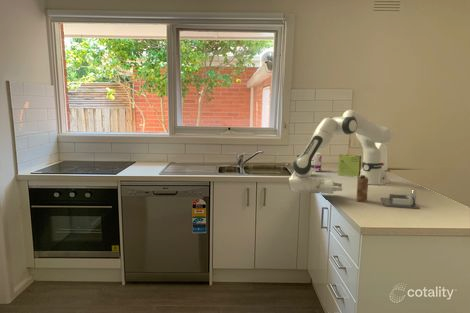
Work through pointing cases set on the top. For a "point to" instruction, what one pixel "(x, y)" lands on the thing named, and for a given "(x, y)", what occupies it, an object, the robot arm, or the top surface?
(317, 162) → the supplement can
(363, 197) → the walnut toggle block
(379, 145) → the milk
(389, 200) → the keeper bracket
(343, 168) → the protein box
